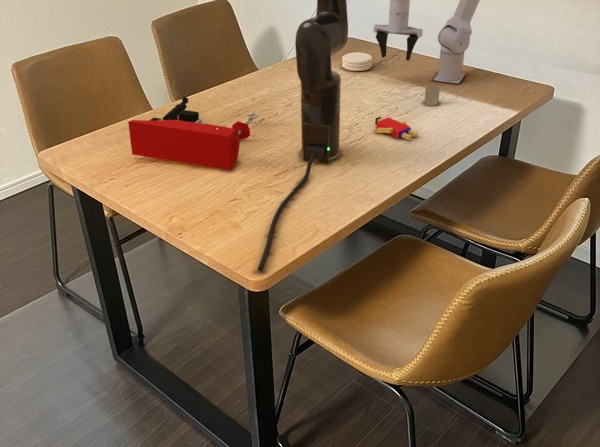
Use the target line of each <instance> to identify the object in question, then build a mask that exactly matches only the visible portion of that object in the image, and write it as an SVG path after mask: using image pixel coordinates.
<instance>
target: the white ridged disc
mask: <svg viewBox="0 0 600 447" xmlns="http://www.w3.org/2000/svg"><path fill="white" fill-rule="evenodd" d="M341 60H342V61H341V66H342V68H343V69H345V70H347V71H349V72H350V71H351V72H363V71H368V70H370V69H371V68H372V67H373V56H372V55H371V54H369V53H365V52H347V53H345V54H344V55H343V56H342V57H341Z"/></svg>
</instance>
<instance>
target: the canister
mask: <svg viewBox="0 0 600 447" xmlns="http://www.w3.org/2000/svg"><path fill="white" fill-rule="evenodd" d="M440 92H441V89H440V87H438V86H434V85H433V86H432V85H430V86H429V85H428V86H426V87H425V91H424V102H423V103H424V105H426V106H431V107H434V106H437V105H439V99H440Z"/></svg>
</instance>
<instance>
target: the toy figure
mask: <svg viewBox="0 0 600 447" xmlns="http://www.w3.org/2000/svg"><path fill="white" fill-rule="evenodd" d="M374 125H375V129H376V130H375V131H376V133H377V134H378V133H379V134H388V135H390V136H392V137H394V138H396V139H399V138H400V139H402V138H403V139H405V140H408V141H410V140H412V137H413V138H416V137H418V132H417V131H415V130H413V129H412V127H411V126H410V125H408V124H407V121H398V120H395V119H393V118H391V117H389V116H388V117H386V118H383V117H382V116H377V117H375V121H374Z"/></svg>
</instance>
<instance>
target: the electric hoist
mask: <svg viewBox="0 0 600 447" xmlns="http://www.w3.org/2000/svg"><path fill="white" fill-rule="evenodd" d="M179 100H180V101H179V102H180V103H177V104H176V105H175V106H174V107H173V108H172V109H171V110H169V111H168V112H167V113H166V114H165V115H164V116H162V118H161V117H155V116H154V117H152V118H151V119H149V120H147V119H146V120H145V119H144V120H142V119H131V120H129V121H128V123H127V125H128V131H129V139H130V147H131V148H130V149H131V155H132V156H139V157H145V158H152V159H157V160H164V161H169V162H176V163H183V164H187V165H193V166H201V167H206V168H212V169H219V170H225V171H231V170H232V169H233V168H234V166H235V165H236V163H238V158H239V152H240V144H241V140H245V139H248V138H249V137H250V136H251V130H250V126H249V124H251V122H253V121H254V120H255V119H258V118H259V117H260V114H257V113H255V112H254V113H250V114H248V115H247V117H249V118H247V121H246V122H242V121H236V122H235V123H233V124H232V125H231V127H228V126H222V125H216V124H209V123H207V122H204V121H203V119H202V118H200V116H199V115H200V113H199V111H194V110H187V108H188V106H187V104H188V103H189V98H188V97H187V96H183V97H182V98H180V99H179Z"/></svg>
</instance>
